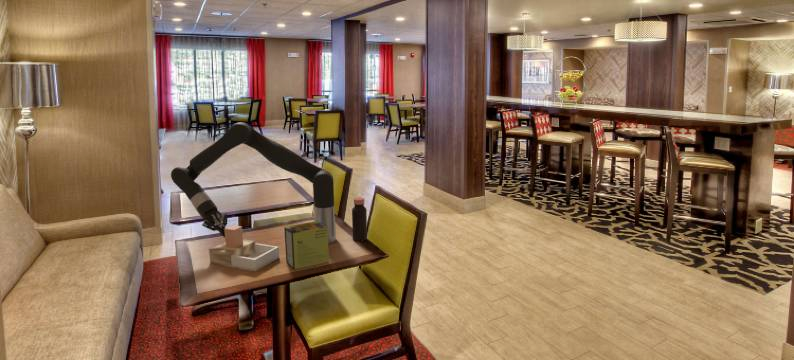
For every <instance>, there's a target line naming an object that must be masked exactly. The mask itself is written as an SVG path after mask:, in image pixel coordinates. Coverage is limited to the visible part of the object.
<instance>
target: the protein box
mask: <svg viewBox="0 0 794 360" xmlns="http://www.w3.org/2000/svg"><path fill="white" fill-rule="evenodd" d="M283 228H284V241H285V242H284V243H285V245H284V246H285V260H286V261H285V262H286V263H287V264H288V265H290V267H292V269H294V270H298V269H303V268H307V267H312V266H316V265H321V264H325V263H329V261H330V257H329V256H330V255H329V253H330V252H329V244H328V227H327V226H325V225H324V224H322V223H320V222H319V221H315V220H314V221H310V222H305V223H304V222H303V223H299V224H294V225H288V226H284V227H283Z"/></svg>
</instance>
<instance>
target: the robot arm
mask: <svg viewBox="0 0 794 360" xmlns="http://www.w3.org/2000/svg"><path fill="white" fill-rule="evenodd" d="M240 145H244V146H248V147H249V148H252V149H254V150H255V151H257V152H258V153H259V154H261V156H263V157H264V158H265V159H266V160H268V161H269V162H270V163H272V164H273V165H275V166H276V167H278V168H280V169H282V170H284V171H285V172H289V173H292V174H295V175H298V176H301V178H305V179H306V180H308V181H309V182H311V183H312V194H313V195H312V196H313V209H314V214H313V215H314V221H319V222H320V223H322V224H324V225H325V226H327V227H328V245H329V244H332V243H334V242H336V239H337V233H336V232H337V231H336V227H337V225H336V219H335V218H336V217H335V192H334V188H335V187H334V186H335V185H334V176H333V174H332V173H331V172H329V171H328V170H326V169H324V168H321V167H319V166H318V165H315V164H313V163H311V162H309V161H307V160H306V158H304V157H302V156H301V155H299V154H298V153H296V152H295V151H293V150H291V149H289V148H288V147H286V146H284V145H283V144H280V143H278V142H277V141H275V140H273V139H270V138H268V137H266V136H265V135H263V134H262V133H260V132H258V131H257V130H256V129H255V128H253V127H252V126H250V125H249V124H248V123H246V122H244V121H238V122H236V123H234V124H232V125H231V126H230V127H229V129H228V130H227V131H226V132H225V133H224V134H223V135H221V137H220V138H218V140H217V141H215V142H214V143H212V144H211V145H209V146H208V147H206V148H204V149H203V150H202V151H200V152H199V153H197V154H196V155H195V156H193V157H192V158H191V159H190V160H189V165H188V166H187V167H182V166H177V167H174V168H173V169H172V170H171V173H170V178H171V181H172V182H173V183H174V184H175V185H176V187H178V188H179V189H180V190H181V191H182V192H183V193H184V194H185V196H186V197H187V198H188V200H189V201H190V203H191V205H192V206H193V207H194V209H195V211H196V212H197V213H198V214H199V216H200V217H201V218H202V219H203V223H202V225H201V226H202V227H204V228H206V229H209V230H211V231H213V232H216V231H217V232H218V233H219V234H220V235H221V236H222V237H223V238H225V230H224V229H225V228H226V227H227V225H228V214H227V213H224V214H222V213H221V212H220V211H219V210H218V206H217V205H216V203H214V201H213V200H212V199H211V197H210V196H209V195H208V193H206V192H205V190H204V189H203V187H202V186H201V185H200V184H199V183H197V182H196V181H195V180H196V179H198V177H199V176H200V174H201V173H202V172H204V171H205V170H206V169H208V168H210V166H212V165H213V164H214V163H216V162H217V161H218V160H219V159H221V157H223V156H224V155H225V154H226V153H227V152H229V151H231V150H233V149H234V148H236V147H238V146H240Z"/></svg>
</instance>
